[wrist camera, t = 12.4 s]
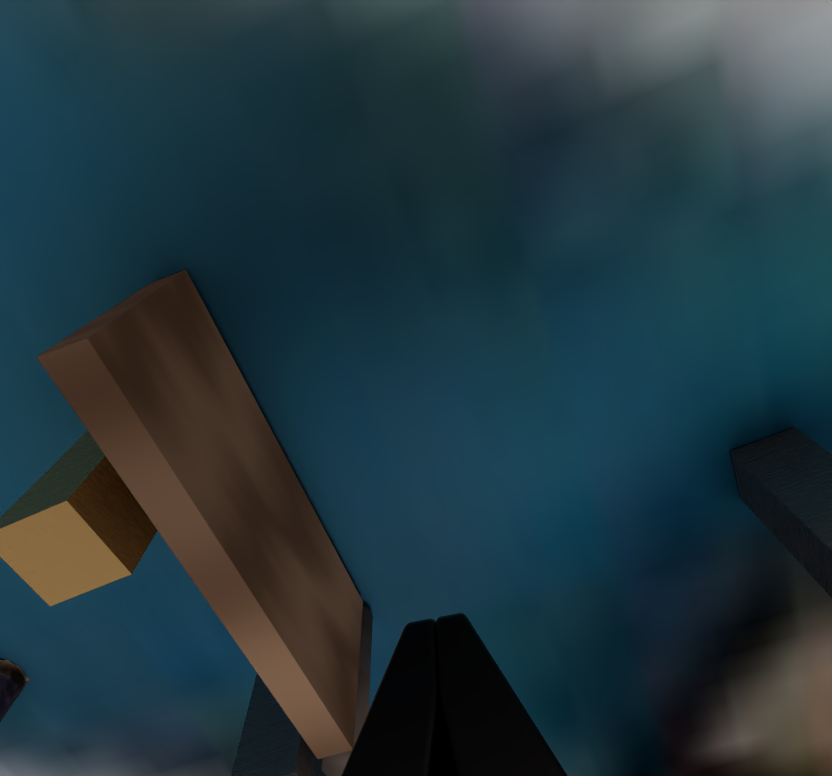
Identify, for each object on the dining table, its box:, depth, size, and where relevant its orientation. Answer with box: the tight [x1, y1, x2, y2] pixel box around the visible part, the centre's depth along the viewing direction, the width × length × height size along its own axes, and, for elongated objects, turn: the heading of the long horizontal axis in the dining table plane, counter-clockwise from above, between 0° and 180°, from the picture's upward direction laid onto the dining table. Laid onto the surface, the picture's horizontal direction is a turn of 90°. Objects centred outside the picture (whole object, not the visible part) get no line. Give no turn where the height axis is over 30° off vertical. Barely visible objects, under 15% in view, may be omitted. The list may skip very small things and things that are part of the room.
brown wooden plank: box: [37, 270, 373, 776], centre depth 18 cm, size 16×2×6 cm, turn 19°
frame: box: [0, 427, 832, 776], centre depth 17 cm, size 22×13×7 cm, turn 114°
